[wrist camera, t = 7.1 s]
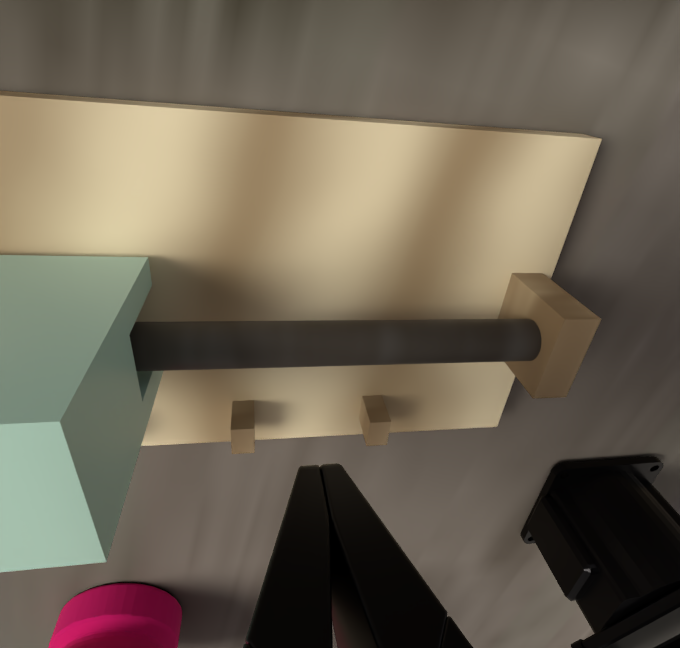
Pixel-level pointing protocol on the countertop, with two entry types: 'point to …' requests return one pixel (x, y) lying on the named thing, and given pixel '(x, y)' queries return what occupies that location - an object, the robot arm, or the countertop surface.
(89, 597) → the pepper mill
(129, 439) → the sleeve
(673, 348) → the countertop surface
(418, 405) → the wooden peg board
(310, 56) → the countertop surface
